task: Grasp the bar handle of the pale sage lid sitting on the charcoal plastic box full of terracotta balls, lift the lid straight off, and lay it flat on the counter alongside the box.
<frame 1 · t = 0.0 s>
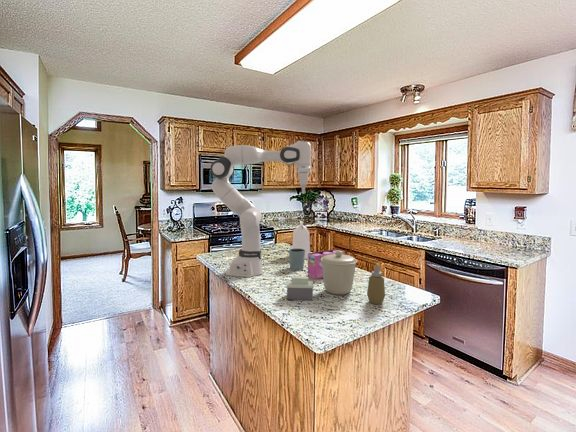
hand: (303, 193, 195), 48 cm above the countertop, tool pointing down, fingers open, 8 cm apart
squeeze bottle: (375, 302, 155), on the countertop
ball a: (293, 293, 160), point 2 cm above the countertop, touching box
lid: (300, 285, 160), point 6 cm above the countertop, touching box
ball b: (306, 293, 160), point 2 cm above the countertop, touching box
canister: (337, 291, 169), on the countertop
box: (299, 297, 160), on the countertop
grey cup: (296, 268, 212), on the countertop
gum box: (326, 274, 199), on the countertop
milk: (300, 257, 242), on the countertop
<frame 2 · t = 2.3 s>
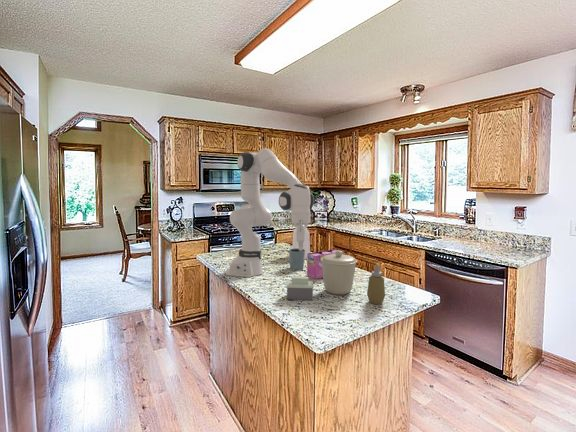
hand: (300, 248, 158), 24 cm above the countertop, tool pointing down, fingers open, 8 cm apart
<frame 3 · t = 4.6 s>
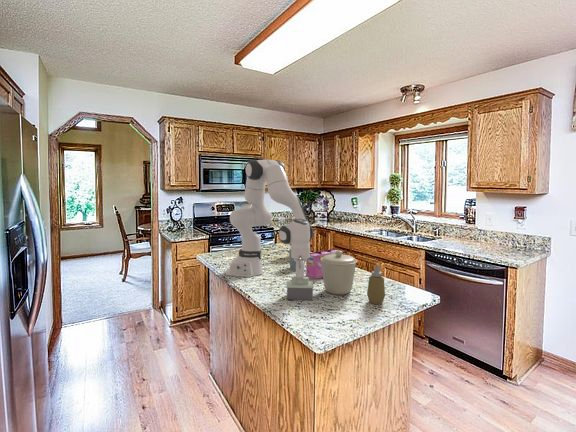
hand: (300, 282, 160), 8 cm above the countertop, tool pointing down, fingers closed on lid, 3 cm apart
lid: (300, 285, 160), point 6 cm above the countertop, touching box, gripper
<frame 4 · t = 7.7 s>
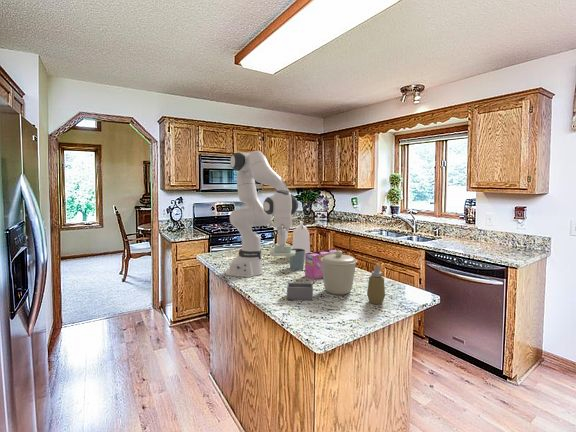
hand: (282, 250, 168), 21 cm above the countertop, tool pointing down, fingers closed on lid, 3 cm apart
lid: (282, 253, 168), point 19 cm above the countertop, touching gripper
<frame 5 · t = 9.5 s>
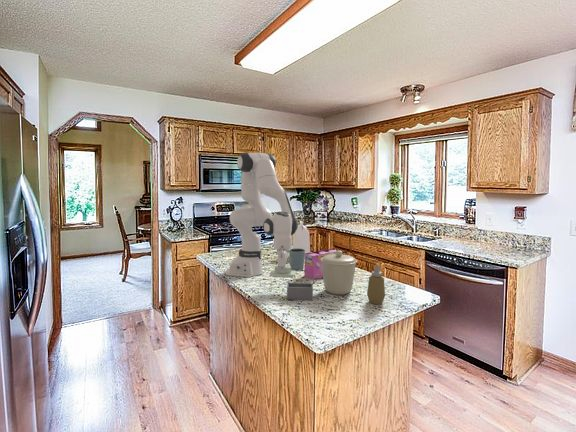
hand: (282, 271, 169), 10 cm above the countertop, tool pointing down, fingers closed on lid, 3 cm apart
lid: (282, 274, 169), point 9 cm above the countertop, touching gripper
when the fingers open (4 cm above the countertop, at t = 11.0 s): lid drops 2 cm, point 1 cm above the countertop.
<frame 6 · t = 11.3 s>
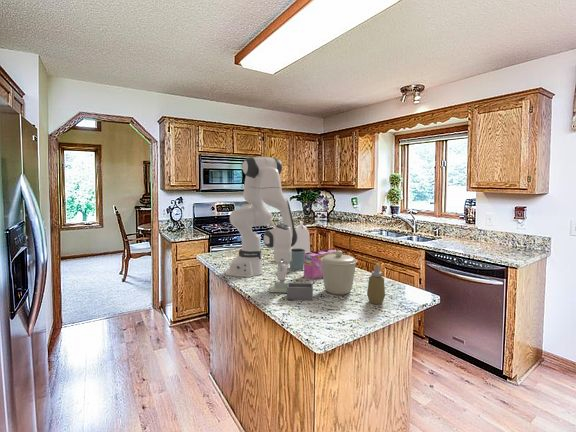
hand: (282, 283, 169), 4 cm above the countertop, tool pointing down, fingers open, 5 cm apart
lid: (282, 289, 170), point 1 cm above the countertop
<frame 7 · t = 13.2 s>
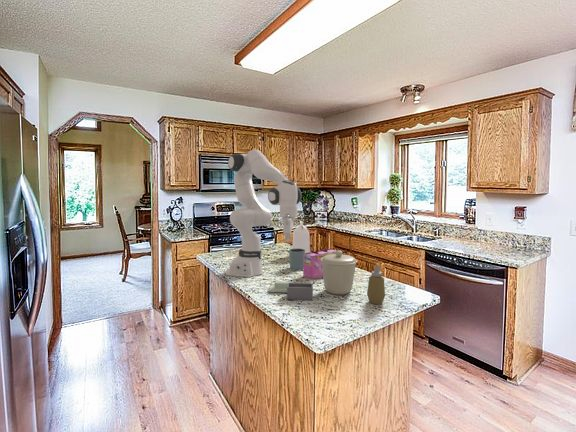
hand: (288, 240, 170), 25 cm above the countertop, tool pointing down, fingers open, 8 cm apart
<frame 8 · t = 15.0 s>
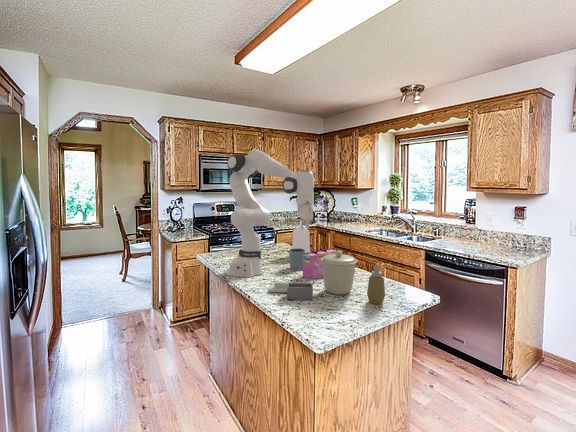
hand: (305, 226, 179), 31 cm above the countertop, tool pointing down, fingers open, 8 cm apart
at the end: lid inside the target area (0.1 cm from its centre), point 0.5 cm above the countertop; lid tilted 0°; the gripper is holding nothing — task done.
